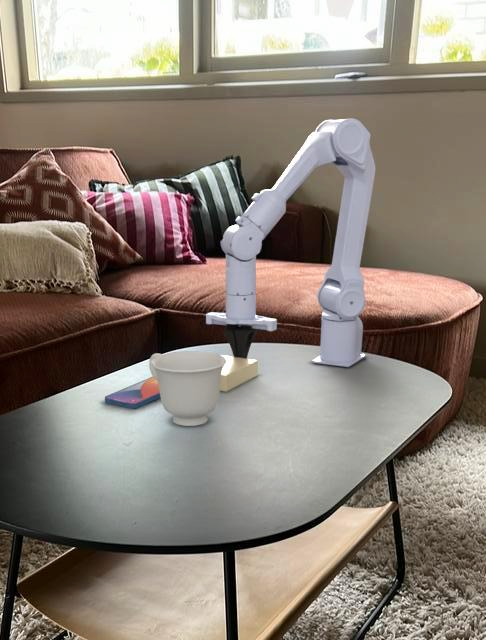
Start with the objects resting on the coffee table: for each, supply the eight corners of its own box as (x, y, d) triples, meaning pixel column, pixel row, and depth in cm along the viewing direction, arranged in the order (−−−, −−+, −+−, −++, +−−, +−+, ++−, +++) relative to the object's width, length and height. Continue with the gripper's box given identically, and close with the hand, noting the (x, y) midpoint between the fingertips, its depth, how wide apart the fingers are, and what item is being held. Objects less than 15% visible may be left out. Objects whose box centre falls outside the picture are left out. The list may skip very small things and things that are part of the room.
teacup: (179, 400, 134) (177, 344, 129) (242, 419, 124) (242, 358, 120) (126, 417, 126) (122, 358, 122) (190, 438, 117) (187, 374, 112)
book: (216, 369, 152) (216, 353, 151) (257, 375, 147) (258, 359, 146) (182, 384, 143) (182, 368, 141) (226, 392, 138) (226, 375, 137)
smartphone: (102, 403, 134) (101, 397, 133) (155, 380, 145) (154, 375, 144) (134, 410, 130) (134, 404, 129) (186, 386, 141) (186, 381, 140)
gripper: (197, 293, 144) (198, 363, 150) (264, 299, 137) (263, 373, 143) (216, 287, 150) (217, 355, 156) (282, 293, 143) (280, 364, 149)
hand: (240, 363), depth 150 cm, fingers closed, pressing on book
